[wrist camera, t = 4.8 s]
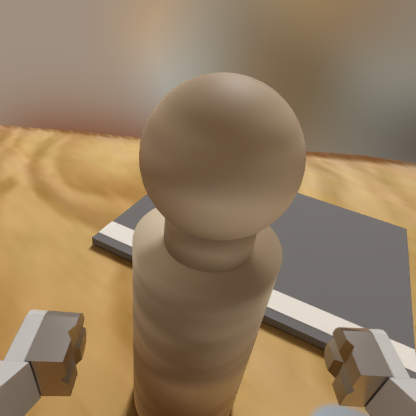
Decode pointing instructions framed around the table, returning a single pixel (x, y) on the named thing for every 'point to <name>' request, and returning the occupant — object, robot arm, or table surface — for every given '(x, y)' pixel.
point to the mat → (322, 272)
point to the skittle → (208, 238)
